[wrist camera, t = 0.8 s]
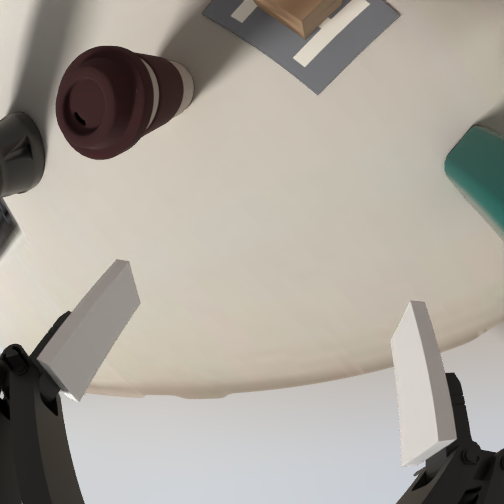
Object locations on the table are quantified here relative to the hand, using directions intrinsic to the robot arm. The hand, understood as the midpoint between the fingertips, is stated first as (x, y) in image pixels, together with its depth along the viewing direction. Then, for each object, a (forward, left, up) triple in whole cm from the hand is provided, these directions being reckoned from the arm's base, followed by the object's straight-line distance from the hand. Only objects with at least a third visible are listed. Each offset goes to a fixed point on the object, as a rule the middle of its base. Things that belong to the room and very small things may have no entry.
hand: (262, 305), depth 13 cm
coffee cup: (-17, -3, -23) cm, 29 cm away
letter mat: (-11, +14, -23) cm, 29 cm away
